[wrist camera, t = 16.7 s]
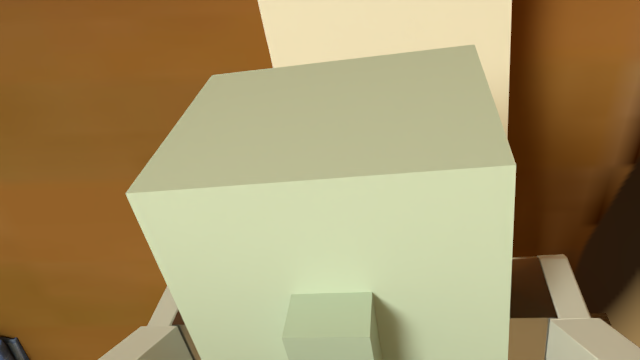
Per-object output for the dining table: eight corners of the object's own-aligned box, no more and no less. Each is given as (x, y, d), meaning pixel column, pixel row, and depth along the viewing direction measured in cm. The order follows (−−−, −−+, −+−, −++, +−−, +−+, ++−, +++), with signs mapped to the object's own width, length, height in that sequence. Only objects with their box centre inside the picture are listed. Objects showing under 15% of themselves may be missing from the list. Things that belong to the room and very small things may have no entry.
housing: (352, 346, 39) (347, 394, 36) (267, -71, 24) (245, -53, 20) (490, 346, 37) (499, 397, 34) (498, -110, 22) (515, -97, 18)
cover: (298, 363, 15) (264, 553, 11) (212, 75, 10) (96, 232, 6) (476, 363, 14) (506, 570, 10) (474, 44, 9) (531, 206, 5)
